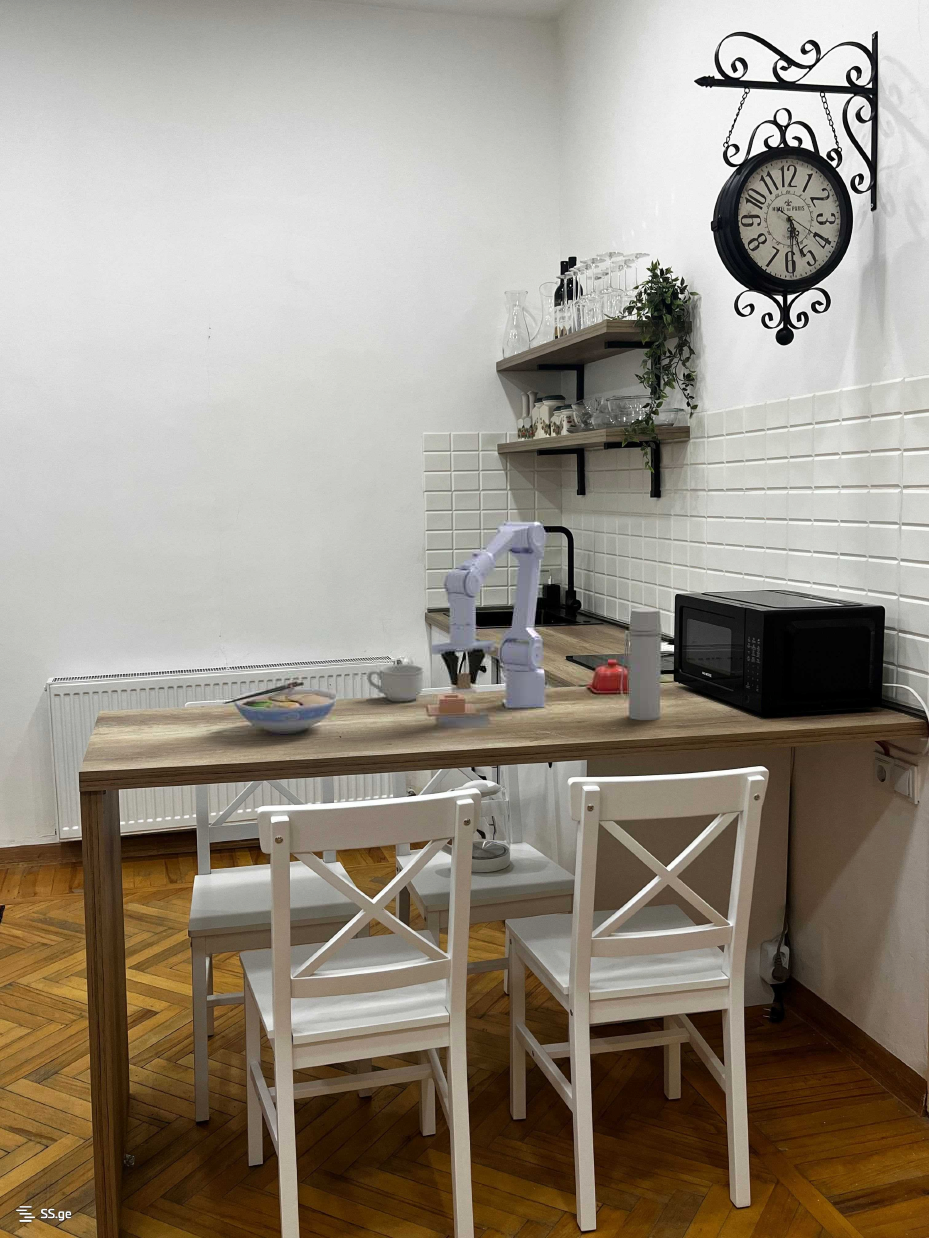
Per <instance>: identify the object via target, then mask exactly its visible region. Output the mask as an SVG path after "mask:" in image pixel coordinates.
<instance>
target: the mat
mask: <svg viewBox="0 0 929 1238" xmlns="http://www.w3.org/2000/svg"><path fill="white" fill-rule="evenodd" d="M435 719H436V723H437V728H438V729H450V728H451V729H453V728H455V729H456V728H459V729H460V728H480V727H481V728H482V727H486V726H491V725H493V724H492V721H491V719H490V717H489V715H488V714H476V715H447V716H435Z"/></svg>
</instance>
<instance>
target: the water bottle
mask: <svg viewBox="0 0 929 1238" xmlns="http://www.w3.org/2000/svg"><path fill="white" fill-rule="evenodd" d="M660 611H661V610H660V609H658V608H650V607H649V608H645V607H641V608H632V609H631V610H630V617H629V619H630V620H629V626H628V627H629V628H628V629H629V630H625V631H624V634H625V638H626V641H625V645H624V652H623V653H624V654H623V660H622V661H623V662H622V667H623V669H622V677H621V685H620V686H621V693H620V694H621V698H627V697H628V718H629V719H632V720H639V721H651V720H653V721H655V720H658V719H660V718H661V671H662V669H661V668H662V667H661V666H662V662H661V661H662V659H661V658H662V655H661V653H662V634H660V633H662V631H663V630H662V622H661V612H660ZM625 661H626V670H627V693H625V694H626V695H624V693H623V692H622V681H623V672H624V668H625Z"/></svg>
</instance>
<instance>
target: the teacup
mask: <svg viewBox="0 0 929 1238" xmlns="http://www.w3.org/2000/svg"><path fill="white" fill-rule="evenodd" d="M423 673H424V667H421V666H420V665H419V666H418V665H413V664H390V665H386V666H383V667H381V668H380V670H377V669H371V670H370V671H369V672H368V673H367V675H366V681H367V682H368V683H369V685H370V686H372V688H374V689H376V690H378V692H379V693H381V694H383V695H384V696H385V697H386V698H387V700H390V701H392V702H399V703H400V702H410V701H413V700H416V699H417V698H418V696H420V695H421V693H422V691H423V682H424V674H423ZM373 675H377V676H378V679H379V681H380V685H378V684H376V683H375V682H373V680H372V676H373Z"/></svg>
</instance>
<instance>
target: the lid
mask: <svg viewBox="0 0 929 1238" xmlns="http://www.w3.org/2000/svg"><path fill="white" fill-rule="evenodd" d="M457 673H458V684H457V686H454V685H451V686H450V690H451V694H476V693H477V689H476V686H475V684H472V685H471V675H470V673H469V672H464V673H462V672H461V673H459V672H457Z"/></svg>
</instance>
